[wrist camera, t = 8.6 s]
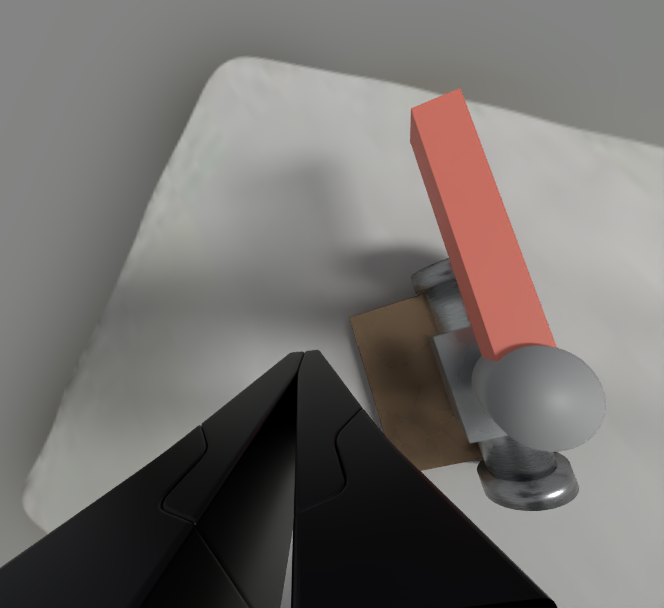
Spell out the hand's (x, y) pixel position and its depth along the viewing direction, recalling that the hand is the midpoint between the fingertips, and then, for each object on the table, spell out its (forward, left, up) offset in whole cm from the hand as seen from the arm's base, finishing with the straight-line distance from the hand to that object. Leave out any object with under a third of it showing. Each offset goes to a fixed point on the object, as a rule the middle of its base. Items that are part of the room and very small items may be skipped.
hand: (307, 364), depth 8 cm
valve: (-4, -3, -12) cm, 13 cm away
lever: (-1, -7, -5) cm, 8 cm away
